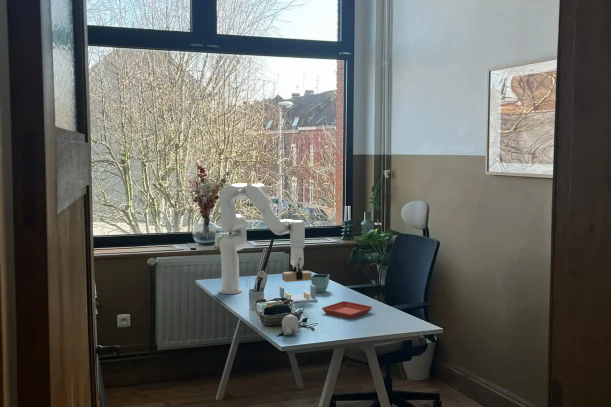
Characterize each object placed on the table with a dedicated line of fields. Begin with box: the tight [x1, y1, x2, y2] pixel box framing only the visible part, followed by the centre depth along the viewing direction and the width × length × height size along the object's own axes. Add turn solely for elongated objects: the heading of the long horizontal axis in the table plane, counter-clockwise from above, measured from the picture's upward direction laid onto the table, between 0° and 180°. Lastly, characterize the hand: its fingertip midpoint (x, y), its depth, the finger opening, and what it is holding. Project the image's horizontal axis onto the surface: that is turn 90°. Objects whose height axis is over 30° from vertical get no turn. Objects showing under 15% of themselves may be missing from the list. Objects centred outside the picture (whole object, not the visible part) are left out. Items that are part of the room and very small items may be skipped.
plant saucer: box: [321, 300, 373, 320], centre depth 309 cm, size 18×18×3 cm
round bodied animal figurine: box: [281, 314, 301, 336], centre depth 274 cm, size 7×12×8 cm, turn 19°
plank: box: [282, 270, 313, 283], centre depth 335 cm, size 6×14×4 cm, turn 108°
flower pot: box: [310, 273, 330, 293], centre depth 355 cm, size 9×9×9 cm
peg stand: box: [279, 283, 318, 303], centre depth 336 cm, size 13×18×7 cm
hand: (297, 277), depth 335 cm, fingers closed on plank, 6 cm apart
